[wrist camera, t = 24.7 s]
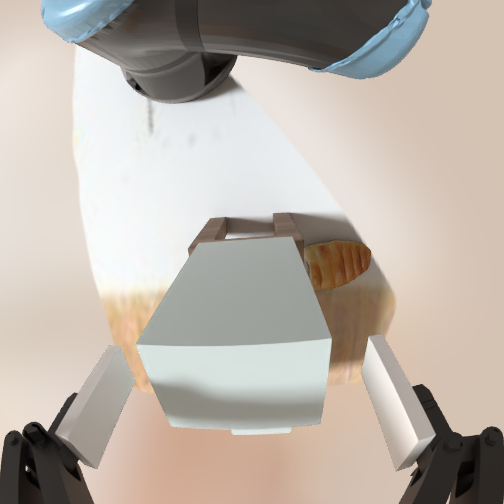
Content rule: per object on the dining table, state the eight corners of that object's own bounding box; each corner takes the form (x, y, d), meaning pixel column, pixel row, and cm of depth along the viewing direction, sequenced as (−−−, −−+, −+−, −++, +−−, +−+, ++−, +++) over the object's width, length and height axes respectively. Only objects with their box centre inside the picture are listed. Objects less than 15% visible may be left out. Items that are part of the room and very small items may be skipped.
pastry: (364, 229, 35) (375, 237, 32) (368, 273, 38) (378, 284, 34) (298, 244, 36) (303, 254, 33) (307, 288, 39) (312, 302, 35)
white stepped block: (198, 243, 24) (135, 344, 10) (292, 236, 23) (331, 338, 10) (230, 413, 31) (221, 507, 18) (292, 411, 31) (301, 506, 18)
